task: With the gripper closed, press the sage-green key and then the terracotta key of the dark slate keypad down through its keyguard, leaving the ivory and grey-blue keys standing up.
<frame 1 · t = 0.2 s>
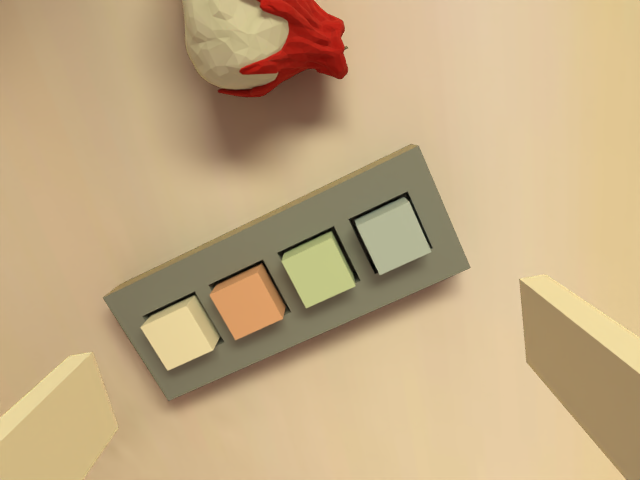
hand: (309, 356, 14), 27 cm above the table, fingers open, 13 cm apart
candle: (261, 29, 36), on the table
key sage: (318, 268, 37), point 4 cm above the table, slide at 0.0 cm
key ivory: (181, 331, 39), point 4 cm above the table, slide at 0.0 cm
key greyblue: (391, 235, 36), point 4 cm above the table, slide at 0.0 cm
key terracotta: (249, 300, 38), point 4 cm above the table, slide at 0.0 cm
keypad: (287, 271, 41), on the table
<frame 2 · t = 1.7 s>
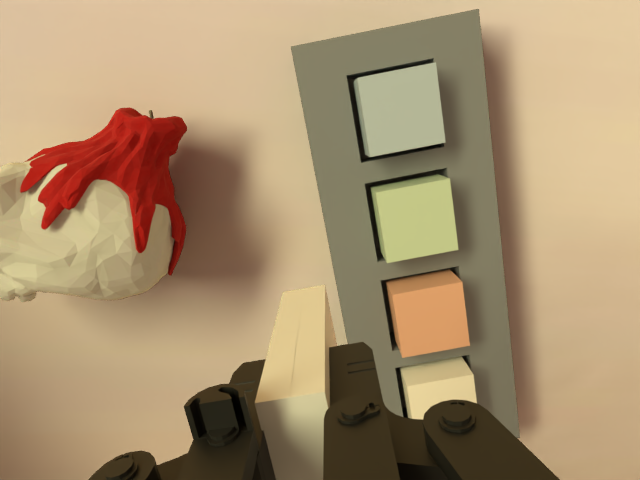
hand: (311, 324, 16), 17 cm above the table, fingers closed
candle: (125, 202, 32), on the table
key sage: (413, 217, 28), point 4 cm above the table, slide at 0.0 cm
key ivory: (438, 398, 31), point 4 cm above the table, slide at 0.0 cm
key greyblue: (397, 111, 27), point 4 cm above the table, slide at 0.0 cm
key terracotta: (426, 312, 30), point 4 cm above the table, slide at 0.0 cm
keypad: (408, 251, 33), on the table
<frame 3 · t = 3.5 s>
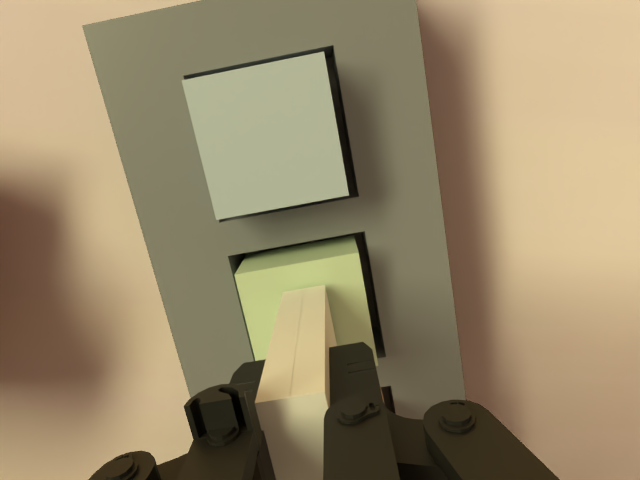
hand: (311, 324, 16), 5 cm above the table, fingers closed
key sage: (309, 307, 18), point 3 cm above the table, slide at 0.6 cm, touching gripper
key greyblue: (272, 138, 15), point 4 cm above the table, slide at 0.0 cm
key terracotta: (339, 458, 19), point 4 cm above the table, slide at 0.0 cm
keypad: (324, 344, 21), on the table
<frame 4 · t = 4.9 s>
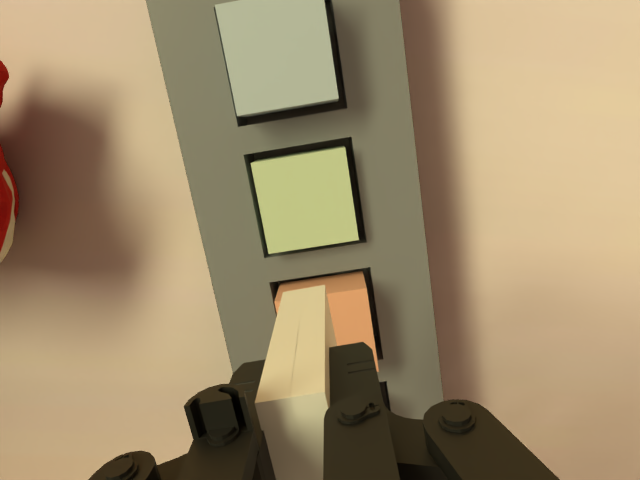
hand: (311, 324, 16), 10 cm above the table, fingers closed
key sage: (306, 198, 23), point 3 cm above the table, slide at 1.0 cm
key greyblue: (281, 57, 20), point 4 cm above the table, slide at 0.0 cm
key terracotta: (327, 325, 23), point 4 cm above the table, slide at 0.0 cm
keypad: (318, 246, 26), on the table
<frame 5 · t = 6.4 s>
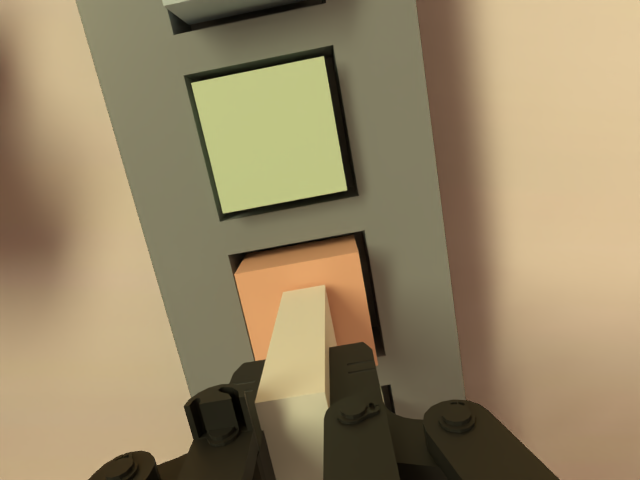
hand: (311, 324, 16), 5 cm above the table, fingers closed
key sage: (275, 137, 16), point 3 cm above the table, slide at 1.0 cm
key ivory: (339, 457, 19), point 4 cm above the table, slide at 0.0 cm
key terracotta: (309, 306, 18), point 3 cm above the table, slide at 0.5 cm, touching gripper
keypad: (297, 210, 20), on the table
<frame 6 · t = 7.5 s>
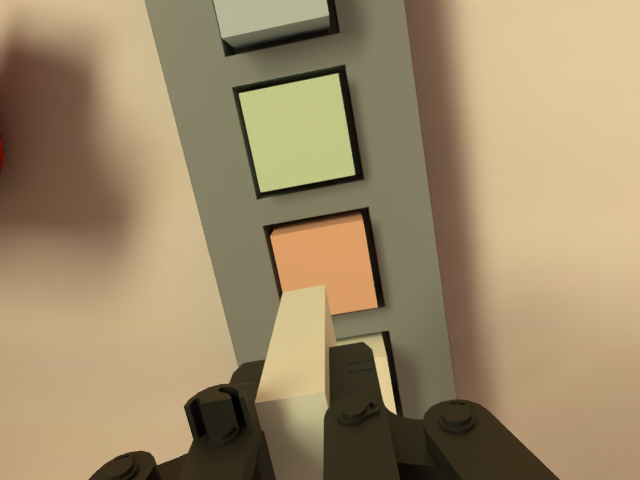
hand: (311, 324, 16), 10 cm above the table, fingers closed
key sage: (300, 134, 21), point 3 cm above the table, slide at 1.0 cm
key ivory: (348, 388, 23), point 4 cm above the table, slide at 0.0 cm
key terracotta: (325, 264, 23), point 3 cm above the table, slide at 1.0 cm
keypad: (315, 193, 25), on the table
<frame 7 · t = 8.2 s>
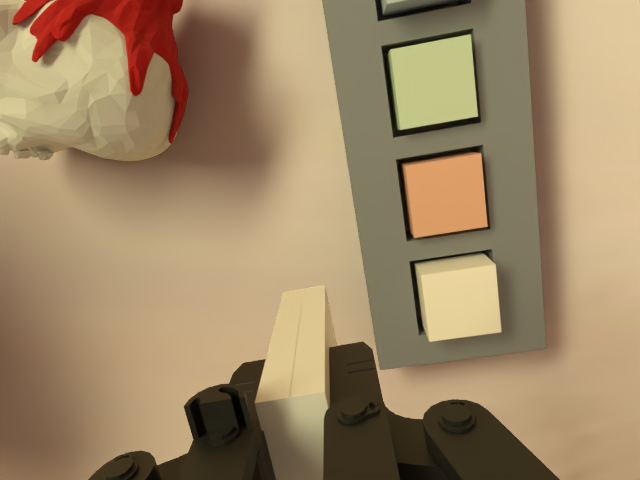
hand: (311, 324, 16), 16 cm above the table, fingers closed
candle: (130, 79, 30), on the table
key sage: (430, 85, 27), point 3 cm above the table, slide at 1.0 cm
key ivory: (456, 296, 29), point 4 cm above the table, slide at 0.0 cm
key terracotta: (442, 193, 28), point 3 cm above the table, slide at 1.0 cm
keypad: (428, 139, 30), on the table
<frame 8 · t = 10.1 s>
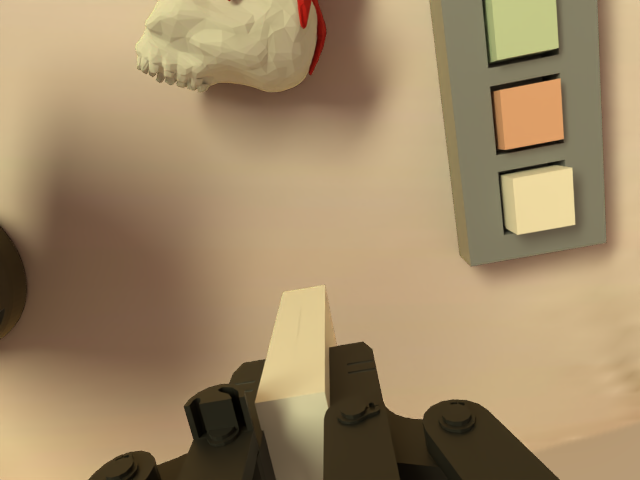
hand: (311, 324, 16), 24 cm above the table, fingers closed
candle: (260, 28, 36), on the table
key sage: (517, 25, 33), point 3 cm above the table, slide at 1.0 cm
key ivory: (536, 199, 36), point 4 cm above the table, slide at 0.0 cm
key terracotta: (524, 115, 35), point 3 cm above the table, slide at 1.0 cm
keypad: (507, 75, 37), on the table
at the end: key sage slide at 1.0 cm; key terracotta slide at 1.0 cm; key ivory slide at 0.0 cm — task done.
